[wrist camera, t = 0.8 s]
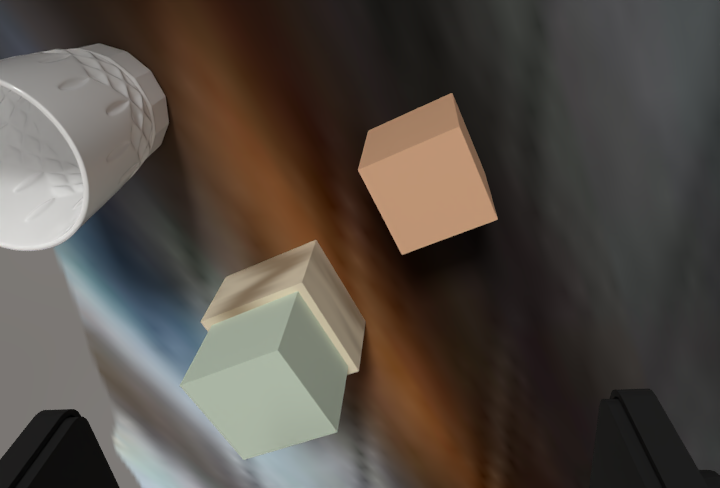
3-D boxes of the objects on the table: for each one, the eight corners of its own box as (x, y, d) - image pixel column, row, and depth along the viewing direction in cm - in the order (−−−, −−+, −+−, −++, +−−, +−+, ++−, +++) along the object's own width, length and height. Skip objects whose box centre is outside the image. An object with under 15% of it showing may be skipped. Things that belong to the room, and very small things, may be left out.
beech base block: (316, 238, 34) (301, 282, 30) (365, 320, 37) (358, 371, 33) (226, 276, 36) (200, 321, 32) (279, 350, 39) (262, 402, 35)
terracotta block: (452, 92, 29) (459, 126, 24) (484, 172, 31) (498, 219, 26) (368, 130, 30) (358, 170, 25) (404, 204, 32) (402, 254, 27)
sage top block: (298, 291, 30) (277, 350, 26) (348, 366, 33) (337, 432, 28) (212, 325, 32) (179, 385, 28) (265, 394, 34) (243, 459, 30)
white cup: (187, 174, 33) (104, 259, 24) (61, 164, 33) (-64, 244, 24) (170, 36, 29) (64, 78, 20) (28, 27, 29) (-135, 64, 21)
